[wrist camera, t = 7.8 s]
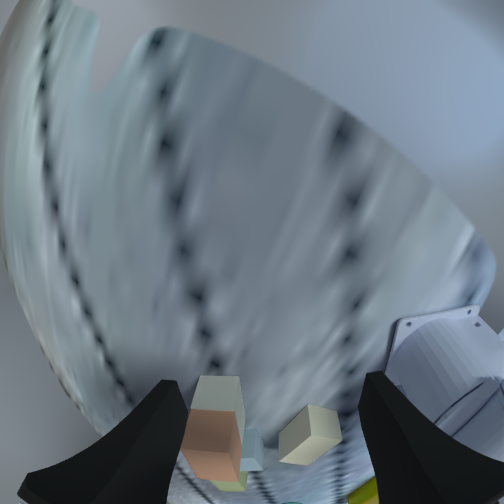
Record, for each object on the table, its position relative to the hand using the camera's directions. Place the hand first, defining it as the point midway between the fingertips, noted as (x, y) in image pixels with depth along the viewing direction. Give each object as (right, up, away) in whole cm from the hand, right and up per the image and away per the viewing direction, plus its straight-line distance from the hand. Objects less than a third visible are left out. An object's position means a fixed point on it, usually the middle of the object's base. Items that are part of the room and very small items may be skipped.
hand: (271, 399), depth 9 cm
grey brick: (-3, -8, +14) cm, 17 cm away
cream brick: (+5, -12, +15) cm, 20 cm away
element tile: (+26, -37, +23) cm, 51 cm away
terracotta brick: (-4, -10, +10) cm, 15 cm away
